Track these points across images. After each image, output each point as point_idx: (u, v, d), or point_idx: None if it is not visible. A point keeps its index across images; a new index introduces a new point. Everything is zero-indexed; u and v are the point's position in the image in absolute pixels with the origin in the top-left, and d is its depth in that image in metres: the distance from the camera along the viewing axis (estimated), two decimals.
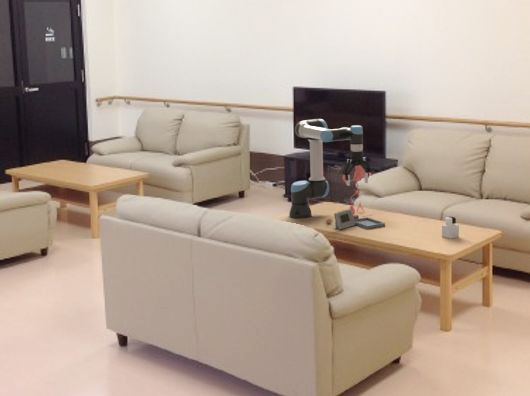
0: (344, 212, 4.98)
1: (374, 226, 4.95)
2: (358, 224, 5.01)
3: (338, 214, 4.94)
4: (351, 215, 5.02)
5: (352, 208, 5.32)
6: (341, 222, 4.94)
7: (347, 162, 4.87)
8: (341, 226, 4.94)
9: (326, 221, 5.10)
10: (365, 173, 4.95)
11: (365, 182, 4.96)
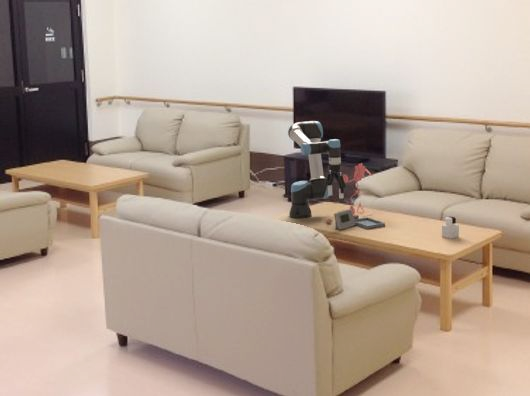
0: (344, 212, 4.98)
1: (374, 226, 4.95)
2: (358, 224, 5.01)
3: (338, 214, 4.94)
4: (351, 215, 5.02)
5: (352, 208, 5.32)
6: (341, 222, 4.94)
7: None
8: (341, 226, 4.93)
9: (326, 221, 5.10)
10: None
11: (341, 197, 4.96)
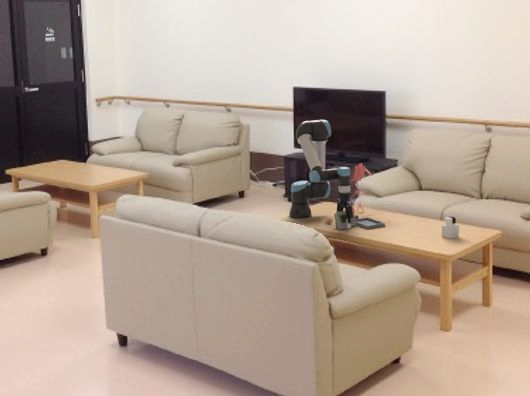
0: (344, 212, 4.98)
1: (374, 226, 4.95)
2: (358, 224, 5.01)
3: (338, 214, 4.94)
4: None
5: (352, 208, 5.32)
6: (341, 222, 4.94)
7: None
8: (341, 226, 4.93)
9: (326, 221, 5.10)
10: None
11: (348, 227, 4.97)
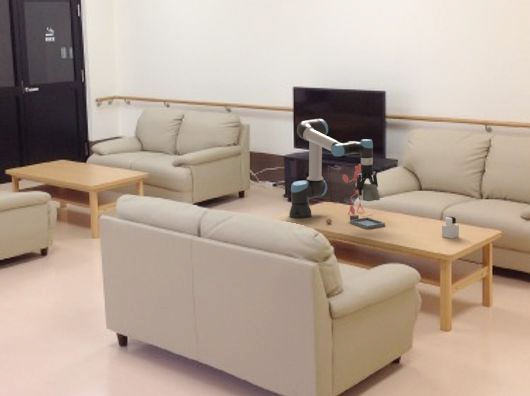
0: None
1: (374, 226, 4.95)
2: (358, 224, 5.01)
3: None
4: None
5: (352, 208, 5.32)
6: None
7: (358, 177, 4.95)
8: None
9: (326, 221, 5.10)
10: None
11: None
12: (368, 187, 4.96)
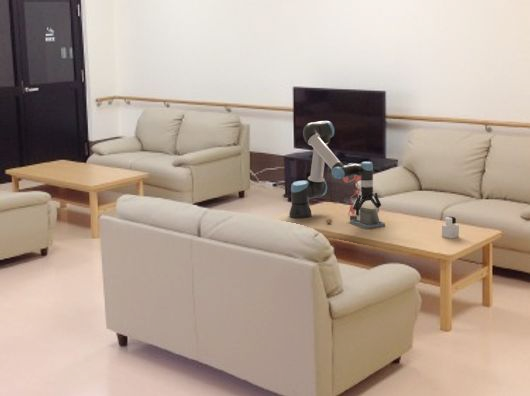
0: None
1: (374, 226, 4.95)
2: (358, 224, 5.01)
3: None
4: None
5: (352, 208, 5.32)
6: None
7: (358, 197, 4.98)
8: None
9: (326, 221, 5.10)
10: (375, 208, 5.05)
11: None
12: (368, 212, 5.00)
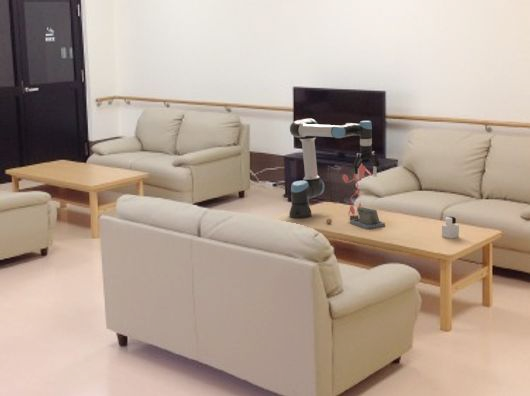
0: None
1: (374, 226, 4.95)
2: (358, 224, 5.01)
3: None
4: None
5: (352, 208, 5.32)
6: None
7: (357, 156, 5.03)
8: None
9: (326, 221, 5.10)
10: (374, 167, 5.11)
11: (374, 176, 5.12)
12: (368, 212, 5.00)
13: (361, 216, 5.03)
